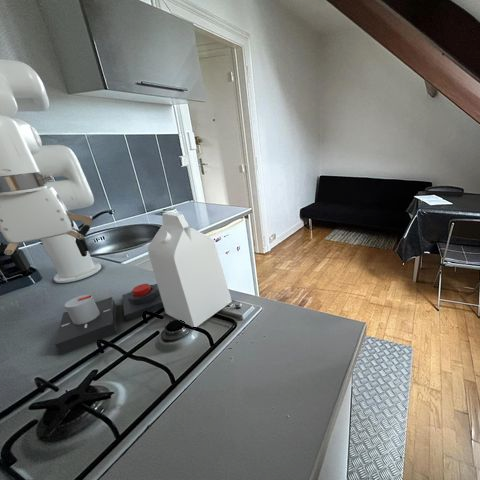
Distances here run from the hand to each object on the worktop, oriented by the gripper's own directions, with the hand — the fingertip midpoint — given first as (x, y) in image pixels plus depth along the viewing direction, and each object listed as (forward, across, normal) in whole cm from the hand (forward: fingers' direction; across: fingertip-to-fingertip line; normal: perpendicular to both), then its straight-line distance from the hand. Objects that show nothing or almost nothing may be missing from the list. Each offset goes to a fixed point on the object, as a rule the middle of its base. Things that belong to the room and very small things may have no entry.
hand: (57, 261), depth 58 cm
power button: (+15, -12, -2) cm, 20 cm away
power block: (+18, -12, -2) cm, 22 cm away
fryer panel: (+18, 0, +1) cm, 18 cm away
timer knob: (+15, 0, +1) cm, 15 cm away
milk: (+18, -23, +11) cm, 32 cm away
